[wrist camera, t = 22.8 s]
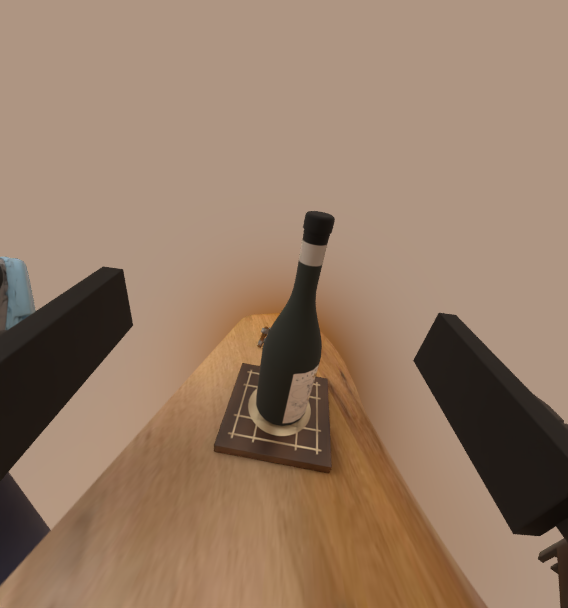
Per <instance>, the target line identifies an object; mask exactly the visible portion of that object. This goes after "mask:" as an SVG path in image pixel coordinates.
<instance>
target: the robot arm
mask: <svg viewBox="0 0 568 608" xmlns="http://www.w3.org/2000/svg"><path fill="white" fill-rule="evenodd" d="M132 326H133V323H132V317H131V312H130V306H129V300H128V295H127V289H126V284H125V278H124V272H123V269H117V268H109V267H102V268H100V269H99V270H97V271H96V272H94V273H93V274H91V275H90V276H88V277H87V278H85V279H84V280H83V281H81V282H79V283H78V284H76V285H75V286H73V287H72V288H70V289H69V290H67V291H66V292H64V293H63V294H61V295H60V296H58V297H57V298H55V299H54V300H52V301H51V302H49V303H48V304H46V305H45V306H43V307H42V308H40V309H39V310H37V311H35V306H34V300H33V295H32V290H31V285H30V280H29V275H28V271H27V267H26V265H25V263H24V262H23V261H22V260H20V259H16V258H8V257H0V481H1V480H2V478H3V477H4V476H5V475H6V474H7V473H8V471H9V470H10V469H11V468H12V467H13V466H14V464H15V463H16V462H17V461H18V460H19V459H20V457H21V456H22V455H23V454H24V453H25V451H26V450H27V449H28V448H29V446H31V444H32V443H33V442H34V441H35V440H36V438H37V437H38V436H39V435H40V434H41V433H42V431H43V430H44V429H45V428H46V427H47V426H48V425H49V423H50V422H51V421H52V420H53V419H54V417H55V416H56V415H57V414H58V413H59V411H60V410H61V409H62V408H63V407H64V406H65V405H66V403H67V402H68V401H69V400H70V399H71V397H72V396H73V395H74V394H75V393H76V392H77V391H78V389H79V388H80V387H81V386H82V385H83V383H84V382H85V381H86V380H87V379H88V377H89V376H90V375H91V374H92V373H93V372H94V370H95V369H96V368H97V367H98V366H99V365H100V363H101V362H102V361H103V360H104V359H105V358H106V357H107V355H108V354H109V353H110V352H111V350H113V348H114V347H115V346H116V345H117V344H118V342H119V341H120V340H121V339H122V338H123V337H124V335H125V334H126V333H127V332H128V331H129V329H130V328H131V327H132ZM414 362H415V364H416V366H417V367H418V369H419V371H420V373H421V374H422V376H423V378H424V379H425V381H426V383H427V385H428V386H429V388H430V390H431V392H432V394H433V395H434V397H435V399H436V400H437V402H438V404H439V405H440V407H441V409H442V411H443V413H444V414H445V416H446V418H447V420H448V421H449V423H450V425H451V427H452V428H453V430H454V432H455V434H456V435H457V437H458V439H459V440H460V442H461V444H462V446H463V447H464V449H465V451H466V453H467V454H468V456H469V458H470V460H471V461H472V463H473V465H474V466H475V468H476V470H477V472H478V473H479V475H480V477H481V479H482V480H483V482H484V484H485V485H486V487H487V489H488V491H489V493H490V494H491V496H492V498H493V499H494V501H495V503H496V505H497V506H498V508H499V510H500V512H501V513H502V515H503V517H504V519H505V520H506V522H507V524H508V526H509V527H510V529H511V531H512V532H513V534H520V535H532V536H541V535H543V534H544V533H546V532H547V531H549V530H550V529H552V528H554V527H555V526H556V527H557V528H558V529H559V531H560V532H561V534H562V535H563V537H564V539H562V540H560V541H559V542H557V543H555V544H553V545H552V546H550V547H548V548H547V549H545V550H543V551H541V552H540V553H539V557H538V560H540V561H541V562H543V563H544V562H545V561H547V560H549V559H551V558H553V557H557V558H558V559H557V560H558V563H556V564H554V565H553V566H551V569H552V570H553V571H554V572H556V573H557V574H558V575H559V589H560V590H559V591H560V606H561V608H568V424H564V420H563V419H562V418H561V417H560V416H559V415H558V414H557V413H556V412H554V410H553V409H552V408H551V407H550V406H549V405H547V404H546V403H545V402H543V401H542V400H540V399H539V398H537V397H536V396H535V395H533V394H532V393H531V392H530V391H529V390H528V389H527V387H526V386H524V384H522V382H520V380H519V379H518V378H517V377H516V376H515V375H514V374H513V373H512V372H511V371H510V370H509V369H508V368H507V367H506V366H505V365H504V364H503V363H502V362H501V361H500V360H499V359H498V358H497V357H496V356H495V355H494V354H493V353H492V352H491V351H490V350H489V349H488V348H487V346H486V345H485V344H484V343H482V341H481V340H480V339H479V338H478V337H476V335H475V334H474V333H473V332H472V331H471V330H470V329H469V328H468V327H467V326H466V325H465V324H464V323H463V322H462V321H461V320H460V319H459V318H458V317H457V316H456V315H452V314H444V313H439V314H438V316H437V317H436V319H435V321H434V323H433V325H432V327H431V328H430V330H429V332H428V334H427V336H426V338H425V340H424V342H423V344H422V345H421V347H420V349H419V351H418V353H417V355H416V356H415V358H414Z"/></svg>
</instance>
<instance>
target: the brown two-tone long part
mask: <svg viewBox="0 0 568 608" xmlns="http://www.w3.org/2000/svg"><path fill="white" fill-rule="evenodd" d="M270 329H271V328H268V327H265V328H262V330H261V332H262V336H261V338H260V340H259V342H258V347H261V345H262V344H263V343H264V342H265V339H266V338H265V336H266V335H267V334H268V332H269V331H270Z"/></svg>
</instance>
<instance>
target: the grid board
mask: <svg viewBox="0 0 568 608" xmlns="http://www.w3.org/2000/svg"><path fill="white" fill-rule="evenodd" d="M259 373H260V366H256V365H250V364H245V363H242V366H241V369H240V372H239V375H238V378H237V380H236V383H235V386H234V389H233V392H232V395H231V398H230V401H229V404H228V406H227V409H226V412H225V415H224V418H223V421H222V424H221V427H220V430H219V432H218V435H217V438H216V441H215V444H214V451H215V452H221V453H226V454H231V455H236V456H242V457H247V458H252V459H257V460H263V461H268V462H273V463H278V464H283V465H289V466H294V467H299V468H304V469H310V470H315V471H320V472H325V473H329V472H330V470H331V468H332V464H331V443H330V422H329V401H328V380H327V379H326V378H321V377H315V380H314V383H313V387H312V390H311V393H310V397H309V400H308V404H307V407H306V411H305V414H304V415H303V416H302V418H301V419H300V420H299V421H298V422H296V423H294V424H292V425H287V426H279V425H274V424H272V423H270V422H268V421H266V420H265V419H264V418H263V417H262V416H261V415H260V413H259V411H258V409H257V406H256V395H257V387H258V380H259Z"/></svg>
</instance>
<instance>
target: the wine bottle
mask: <svg viewBox="0 0 568 608" xmlns="http://www.w3.org/2000/svg"><path fill="white" fill-rule="evenodd" d="M334 220H335V219H334V217H333V216H332V215H330V214H327V213H323V212H318V211H309V212H307V213H306V215H305V220H304V226H303V228H304V234H303V240H302V246H301V252H300V258H299V263H298V268H297V275H296V279H295V284H294V288H293V291H292V294H291V296H290V299H289V301H288V302H287V304H286V306H285V307H284V309H283V310H282V312H281V313H280V315H279V316H278V318H277V319H276V321H275V322H274V324H273V325H272V327H271V329H270V331H269V332H268V334H267V337H266V339H265V342H264V345H263V350H262V358H261V365H260V373H259V380H258V387H257V395H256V406H257V409H258V411H259V413H260V415H261V416H262V417H263V418H264V419H265V420H266V421H268V422H270V423H272V424H274V425H279V426H287V425H292V424H294V423H296V422H298V421H299V420H300V419H301V418H302V416H303V415H304V414H305V411H306V407H307V404H308V400H309V397H310V393H311V390H312V387H313V383H314V380H315V376H316V373H317V369H318V366H319V362H320V358H321V348H322V344H321V335H320V329H319V325H318V320H317V313H316V304H315V303H316V302H315V300H316V289H317V284H318V280H319V276H320V272H321V268H322V263H323V259H324V255H325V251H326V247H327V243H328V239H329V236H330V234H331V232H332V229H333V225H334Z"/></svg>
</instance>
